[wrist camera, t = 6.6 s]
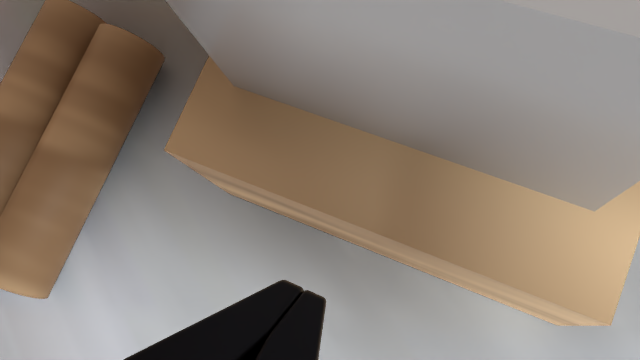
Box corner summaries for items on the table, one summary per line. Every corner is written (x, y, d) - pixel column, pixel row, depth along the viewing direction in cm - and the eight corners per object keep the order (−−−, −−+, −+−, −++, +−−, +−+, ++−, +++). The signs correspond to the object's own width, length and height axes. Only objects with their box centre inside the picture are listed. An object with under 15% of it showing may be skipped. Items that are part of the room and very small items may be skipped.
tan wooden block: (557, 325, 17) (610, 325, 12) (228, 193, 19) (163, 150, 15) (632, 104, 18) (708, 22, 13) (311, 9, 20) (276, -86, 16)
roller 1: (11, 263, 20) (-42, 255, 18) (-40, 237, 21) (-98, 227, 18) (124, 40, 22) (88, 6, 19) (73, 23, 22) (33, -12, 20)
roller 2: (62, 300, 19) (14, 296, 17) (8, 273, 20) (-46, 266, 18) (175, 67, 21) (144, 36, 19) (121, 49, 22) (85, 16, 19)
